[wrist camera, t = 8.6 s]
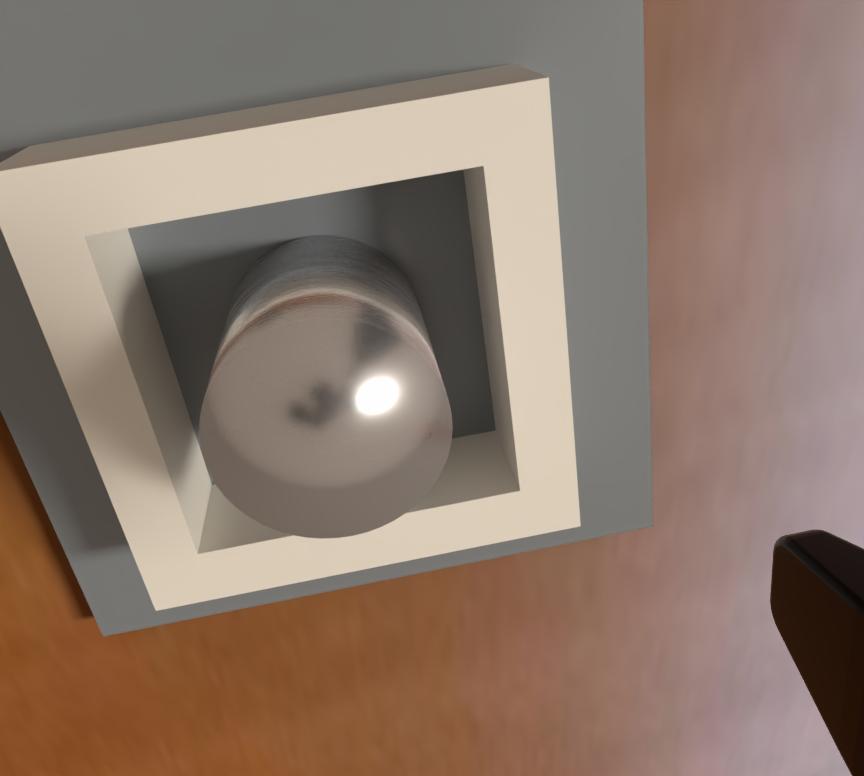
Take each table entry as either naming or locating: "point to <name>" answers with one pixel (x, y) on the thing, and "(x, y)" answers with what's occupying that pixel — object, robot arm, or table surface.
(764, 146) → the table surface
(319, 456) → the grey cylinder
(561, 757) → the table surface
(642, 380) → the socket
